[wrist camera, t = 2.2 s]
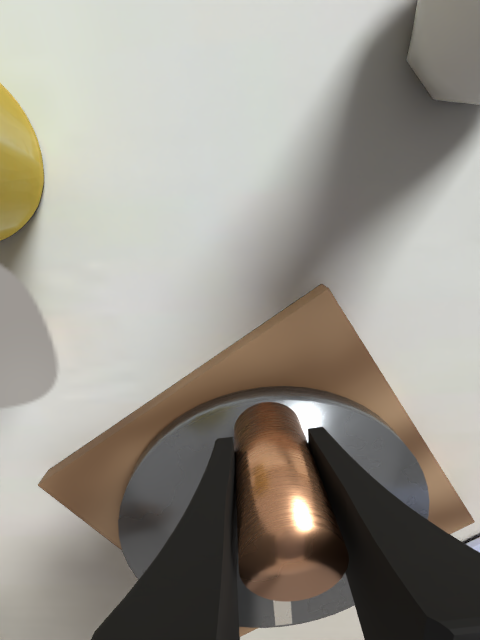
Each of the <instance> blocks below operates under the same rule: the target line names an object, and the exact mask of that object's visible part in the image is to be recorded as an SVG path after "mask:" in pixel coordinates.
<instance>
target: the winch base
mask: <svg viewBox="0 0 480 640" xmlns="http://www.w3.org/2000/svg"><path fill="white" fill-rule="evenodd" d="M273 386H293V387H307V388H312V389H318V390H323V391H328V392H331V393H334V394H337V395H340V396H343V397H346V398H349V399H351V400H353V401H355V402H357V403H359V404H361V405H363V406H365V407H366V408H368V409H369V410H371V411H372V412H374V413H375V414H377V415H378V416H380V417H381V418H382V419H383V420H384V421H385V422H386V423H387V424H388V425H389V426H391V427H392V429H393V430H394V431H395V432H396V434H397V435H398V436H399V437H400V439H401V440H402V441H403V442H404V444H405V445H406V446H407V447H408V449H409V450H410V451H411V453H412V454H413V455H414V456H415V458H416V459H417V461H418V463H419V465H420V467H421V469H422V471H423V473H424V476H425V479H426V483H427V486H428V493H429V516H428V520H429V521H430V522H432V523H433V524H435V525H436V526H438V527H439V528H441V529H442V530H444V531H445V532H447V533H448V534H451V533H453V532H455V531H458V530H460V529H462V528H464V527H466V526H468V525H470V524H472V523H474V522H475V521H474V520H473V518H472V517H471V515H470V513H469V512H468V510H467V509H466V507H465V505H464V504H463V502H462V501H461V499H460V498H459V496H458V494H457V493H456V491H455V490H454V488H453V486H452V485H451V483H450V482H449V480H448V478H447V477H446V475H445V474H444V472H443V470H442V469H441V467H440V466H439V464H438V462H437V461H436V459H435V458H434V456H433V454H432V453H431V451H430V450H429V448H428V446H427V445H426V443H425V442H424V440H423V438H422V437H421V435H420V434H419V432H418V430H417V429H416V427H415V426H414V424H413V422H412V421H411V419H410V418H409V416H408V414H407V413H406V411H405V410H404V408H403V406H402V405H401V403H400V402H399V400H398V398H397V397H396V395H395V394H394V392H393V390H392V389H391V387H390V386H389V384H388V382H387V381H386V379H385V378H384V376H383V374H382V373H381V371H380V370H379V368H378V366H377V365H376V363H375V362H374V360H373V358H372V357H371V355H370V354H369V352H368V350H367V349H366V347H365V346H364V344H363V342H362V341H361V339H360V338H359V336H358V334H357V333H356V331H355V330H354V328H353V326H352V325H351V323H350V322H349V320H348V319H347V317H346V315H345V314H344V312H343V311H342V309H341V307H340V306H339V304H338V303H337V301H336V299H335V298H334V296H333V295H332V293H331V291H330V290H329V288H327V287H326V286H324V285H323V284H321V285H319V286H318V287H316V288H315V289H313V290H312V291H310V292H309V293H307V294H306V295H305V296H303V297H302V298H300V299H299V300H297V301H296V302H294V303H293V304H291V305H290V306H288V307H287V308H285V309H284V310H283V311H281V312H280V313H278V314H277V315H275V316H274V317H272V318H271V319H269V320H268V321H266V322H265V323H263V324H262V325H261V326H259V327H258V328H256V329H255V330H253V331H252V332H250V333H249V334H247V335H246V336H244V337H243V338H241V339H240V340H239V341H237V342H236V343H234V344H233V345H231V346H230V347H228V348H227V349H225V350H224V351H222V352H221V353H219V354H218V355H217V356H215V357H214V358H212V359H211V360H209V361H208V362H206V363H205V364H203V365H202V366H200V367H199V368H197V369H196V370H195V371H193V372H192V373H190V374H189V375H187V376H186V377H184V378H183V379H181V380H180V381H178V382H177V383H175V384H174V385H173V386H171V387H170V388H168V389H167V390H165V391H164V392H162V393H161V394H159V395H158V396H156V397H155V398H153V399H152V400H151V401H149V402H148V403H146V404H145V405H143V406H142V407H140V408H139V409H137V410H136V411H134V412H133V413H131V414H130V415H128V416H127V417H126V418H124V419H123V420H121V421H120V422H118V423H117V424H115V425H114V426H112V427H111V428H109V429H108V430H106V431H105V432H104V433H102V434H101V435H99V436H98V437H96V438H95V439H93V440H92V441H90V442H89V443H87V444H86V445H84V446H83V447H82V448H80V449H79V450H77V451H76V452H74V453H73V454H71V455H70V456H68V457H67V458H65V459H64V460H62V461H61V462H60V463H58V464H57V465H55V466H54V467H52V468H51V469H49V470H48V471H47V473H46V474H45V476H44V477H43V478H42V480H41V481H40V483H39V484H38V486H39V487H41V488H42V489H43V490H45V491H46V492H47V493H48V494H50V495H51V496H52V497H54V498H55V499H56V500H57V501H59V502H60V503H61V504H63V505H64V506H65V507H67V508H68V509H69V510H70V511H72V512H73V513H74V514H76V515H77V516H78V517H79V518H81V519H82V520H83V521H85V522H86V523H87V524H89V525H90V526H91V527H92V528H94V529H95V530H96V531H98V532H99V533H100V534H102V535H103V536H104V537H105V538H107V539H108V540H109V541H111V542H112V543H113V544H114V545H116V546H117V547H118V548H120V549H121V550H122V548H121V544H120V539H119V529H118V519H119V512H120V505H121V502H122V499H123V496H124V493H125V490H126V488H127V485H128V482H129V480H130V477H131V474H132V472H133V469H134V467H135V465H136V464H137V462H138V460H139V458H140V456H141V454H142V453H143V452H144V450H145V449H146V448H147V446H148V445H149V444H150V442H151V441H152V440H153V439H154V438H155V437H156V436H157V435H158V434H159V433H160V432H161V431H162V430H163V429H164V428H165V427H166V426H168V425H169V424H170V423H172V422H173V421H174V420H176V419H177V418H178V417H180V416H181V415H183V414H184V413H186V412H188V411H190V410H191V409H193V408H195V407H197V406H198V405H201V404H203V403H205V402H208V401H210V400H213V399H215V398H217V397H220V396H224V395H227V394H230V393H234V392H237V391H242V390H248V389H253V388H259V387H273ZM255 629H257V628H248V627H239V635H240V637H241V636H243V635H245V634H247V633H249V632H251V631H253V630H255Z"/></svg>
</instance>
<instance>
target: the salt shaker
mask: <svg viewBox="0 0 480 640" xmlns="http://www.w3.org/2000/svg"><path fill="white" fill-rule="evenodd" d="M406 61H407V62H408V64H409V65H410V66H411V68H412V69H413V71H414V72H415V74H416V75H417V77H418V78H419V80H420V81H421V82H422V84H423V85H424V87H425V88H426V90H427V91H428V93H429V94H430V96H431V97H432V99H433V100H440V101H449V102H458V103H468V104H478V105H480V0H418V1H417V7H416V13H415V19H414V25H413V31H412V36H411V40H410V45H409V50H408V55H407V59H406Z"/></svg>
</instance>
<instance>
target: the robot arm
mask: <svg viewBox="0 0 480 640" xmlns="http://www.w3.org/2000/svg"><path fill="white" fill-rule="evenodd" d="M308 444H309V447H310V450H311V453H312V455H313V458H314V461H315V464H316V466H317V469H318V472H319V474H320V477H321V480H322V483H323V485H324V488H325V491H326V494H327V496H328V499H329V502H330V504H331V507H332V510H333V513H334V515H335V518H336V521H337V523H338V526H339V529H340V532H341V534H342V537H343V540H344V543H345V545H346V548H347V551H348V555H349V563H348V567H347V570H346V572H345V573H346V577H347V580H348V583H349V587H350V590H351V593H352V597H353V600H354V603H355V607H356V610H357V614H358V617H359V621H360V624H361V628H362V631H363V635H364V638H365V640H480V537H479V538H477V539H474V540H472V541H470V542H468V543H466V544H464V543H463V542H461V541H459V540H458V539H456V538H454V537H453V536H451V535H450V534H448V533H447V532H445V531H444V530H442V529H441V528H439V527H438V526H436V525H435V524H433V523H432V522H430V521H429V520H427V519H426V518H424V517H423V516H421V515H420V514H418V513H417V512H416V511H414V510H413V509H411V508H410V507H409V506H407V505H406V504H405V503H403V502H402V501H401V500H400V499H398V498H397V497H396V496H394V495H393V494H392V493H391V492H390V491H388V490H387V489H386V488H385V487H384V486H382V485H381V484H380V483H379V482H378V481H377V480H376V479H374V478H373V477H372V476H371V475H370V474H369V473H368V472H367V471H366V470H364V469H363V468H362V467H361V466H360V465H359V464H358V463H357V462H356V461H355V460H354V459H353V458H352V457H351V456H350V455H349V454H348V453H347V452H346V451H345V450H344V449H343V448H342V447H341V446H340V445H339V444H338V442H337V441H336V440H335V439H334V438H333V437H332V436H331V435H330V434H329V433H328V431H327V430H326V429H325V428H324V427H316V428H308ZM237 563H238V534H237V505H236V475H235V451H234V444H233V437H226V438H218V439H217V440H216V441H215V444H214V448H213V451H212V454H211V457H210V459H209V462H208V465H207V467H206V469H205V472H204V474H203V476H202V479H201V481H200V483H199V485H198V487H197V489H196V491H195V493H194V495H193V497H192V499H191V501H190V503H189V505H188V507H187V509H186V511H185V512H184V514H183V516H182V518H181V519H180V521H179V523H178V524H177V526H176V528H175V529H174V531H173V533H172V534H171V536H170V537H169V539H168V540H167V542H166V543H165V545H164V546H163V548H162V549H161V551H160V552H159V553H158V555H157V556H156V558H155V559H154V560H153V562H152V563H151V564H150V566H149V567H148V568H147V570H146V571H145V572H144V574H143V575H142V576H141V578H140V579H139V580H138V581H137V583H136V584H135V585H134V587H133V588H132V589H131V590H130V592H129V593H128V594H127V595H126V597H125V598H124V599H123V600H122V601H121V602H120V603H119V605H118V606H117V607H116V608H115V609H114V610H113V611H112V613H111V614H110V615H109V616H108V617H107V618H106V620H105V621H104V622H103V623H102V624H101V625H100V626H99V628H98V629H97V630H96V631H95V632H94V634H93V637H92V639H91V640H240V635H239V612H238V588H237Z"/></svg>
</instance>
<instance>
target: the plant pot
mask: <svg viewBox="0 0 480 640" xmlns="http://www.w3.org/2000/svg"><path fill="white" fill-rule="evenodd" d="M43 183H44V172H43V162H42V155H41V151H40V147H39V143H38V140H37V137H36V135H35V132H34V130H33V128H32V126H31V124H30V122H29V120H28V118H27V116H26V114H25V113H24V111H23V110H22V108H21V107H20V105H19V104H18V102H17V101H16V100H15V99H14V97H13V96H12V95H11V94H10V93H9V92H8V90H7V89H6V88H5V87H4V86H3V85H2V84H1V83H0V241H1V240H3V239H6V238H8V237H10V236H11V235H13V234H14V233H16V232H17V231H18V230H20V229H21V228H22V227H23V226H24V225H25V224H26V223H27V222H28V220H29V219H30V218H31V217H32V215H33V214H34V212H35V210H36V209H37V207H38V205H39V202H40V198H41V194H42V189H43Z"/></svg>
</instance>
